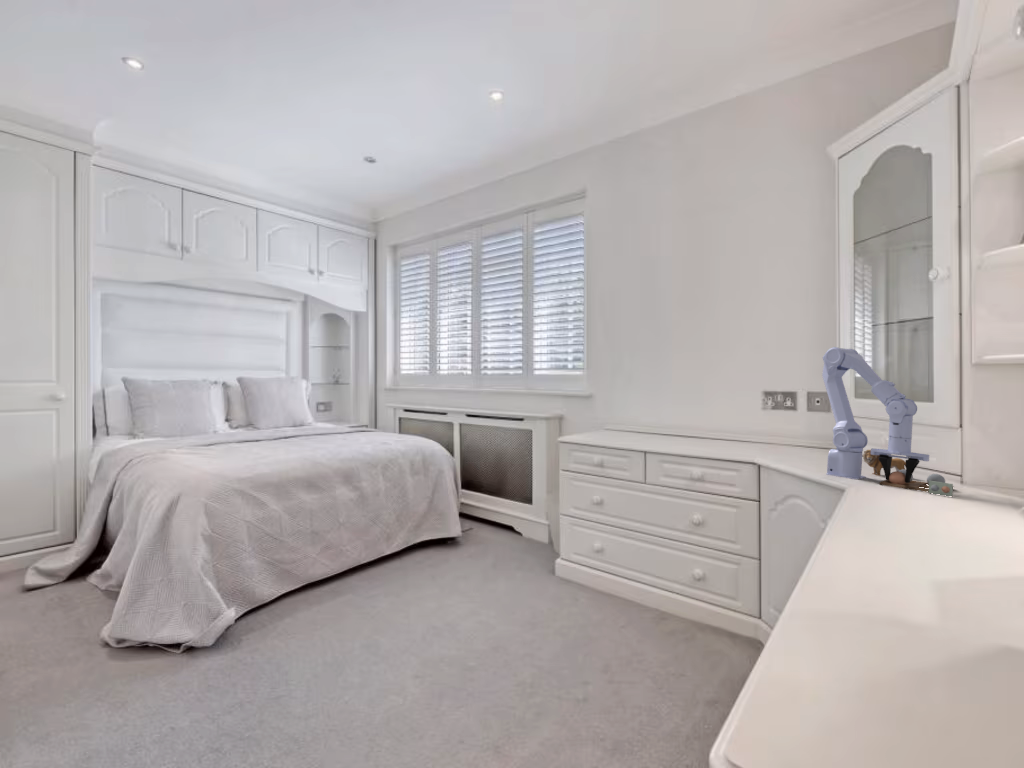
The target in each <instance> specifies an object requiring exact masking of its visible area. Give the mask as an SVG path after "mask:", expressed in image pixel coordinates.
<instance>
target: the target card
mask: <svg viewBox="0 0 1024 768" xmlns="http://www.w3.org/2000/svg"><path fill="white" fill-rule="evenodd" d="M953 487H954V484H953V483H949V482H948V483H947V482H945V483H943V482H936V481H929V492H928V493H933V494H932V495H934V494H940V495H946V496H952V497H953V493H954V492H953ZM940 495H939V496H940ZM946 496H945V497H946Z"/></svg>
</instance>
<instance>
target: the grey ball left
mask: <svg viewBox="0 0 1024 768" xmlns="http://www.w3.org/2000/svg"><path fill="white" fill-rule="evenodd" d="M899 472H902V473H903V474H905V476H906V469H905V470H904V469H902V470H899ZM913 478H914V475H913V474H912V476H911V479H910V482H911V481H912V480H913Z"/></svg>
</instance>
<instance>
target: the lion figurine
mask: <svg viewBox="0 0 1024 768" xmlns="http://www.w3.org/2000/svg"><path fill="white" fill-rule="evenodd" d="M879 456H880V455H871V449H867V450H865V451H864V450H863V454H862V460H863V461H864V462H865V463H866V464H867V465H868V466H869V467H871V468H873V472H872V473H871V475H875V476H876V477H877V476H878V477H879V476H881V470H882V469H883V467H882V464H881V462H880V461H879V458H878V457H879ZM893 468H894V469H895V471H899V470H902V469H904V470H906V460H903V458H897V457H893V458H892V462H891V469H893Z"/></svg>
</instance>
